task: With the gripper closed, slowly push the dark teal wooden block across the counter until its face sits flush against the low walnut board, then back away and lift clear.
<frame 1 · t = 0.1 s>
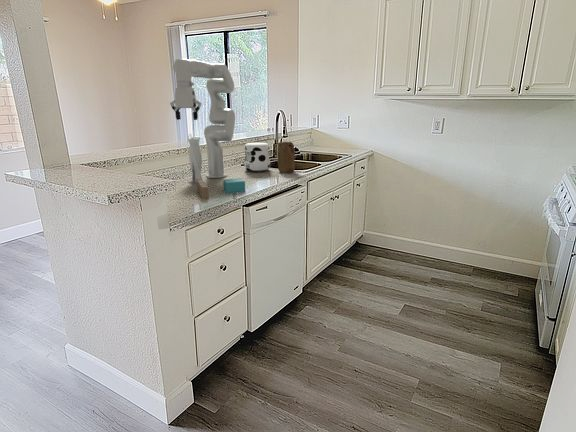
hand: (187, 119, 199), 37 cm above the worktop, tool pointing down, fingers open, 9 cm apart
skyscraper: (196, 182, 225), on the worktop
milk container: (257, 171, 258), on the worktop
block: (286, 172, 253), on the worktop
walnut board: (202, 193, 200), on the worktop
teal block: (234, 191, 206), on the worktop
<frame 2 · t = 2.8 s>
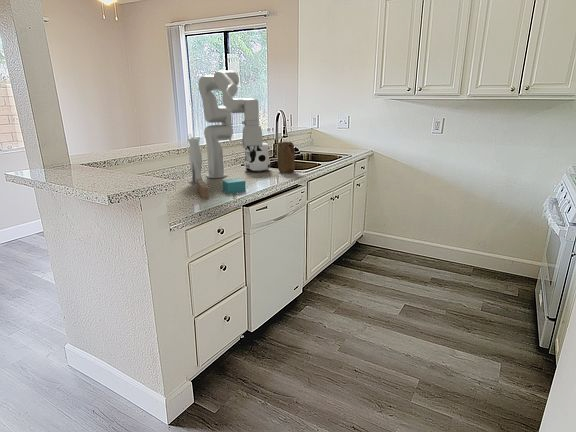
hand: (253, 158, 204), 17 cm above the worktop, tool pointing down, fingers closed
nothing on the worktop moved.
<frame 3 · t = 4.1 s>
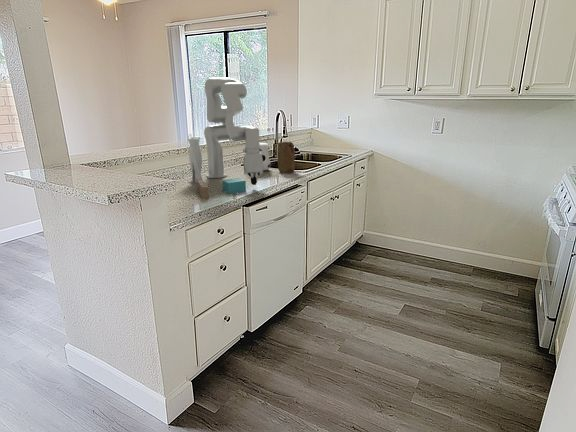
hand: (253, 184, 209), 3 cm above the worktop, tool pointing down, fingers closed
nothing on the worktop moved.
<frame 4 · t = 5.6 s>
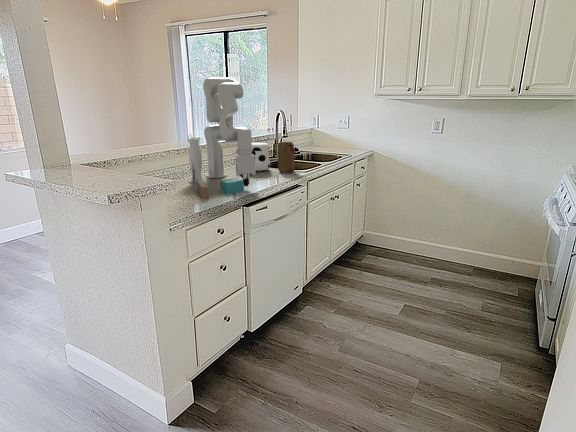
hand: (246, 185, 207), 2 cm above the worktop, tool pointing down, fingers closed
teal block: (232, 191, 206), on the worktop, touching gripper
everything else where it was.
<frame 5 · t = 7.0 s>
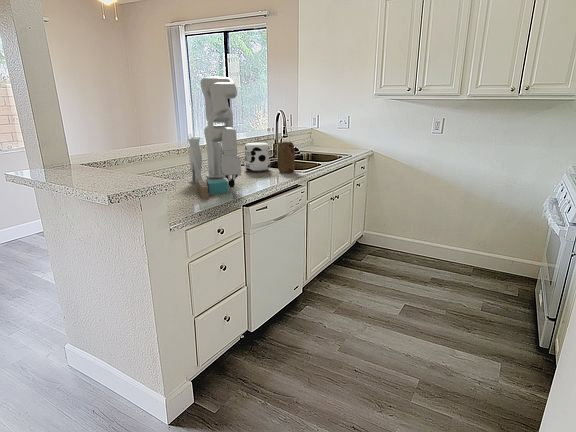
hand: (231, 187, 205), 2 cm above the worktop, tool pointing down, fingers closed
teal block: (217, 192, 204), on the worktop, touching gripper
everything else where it was.
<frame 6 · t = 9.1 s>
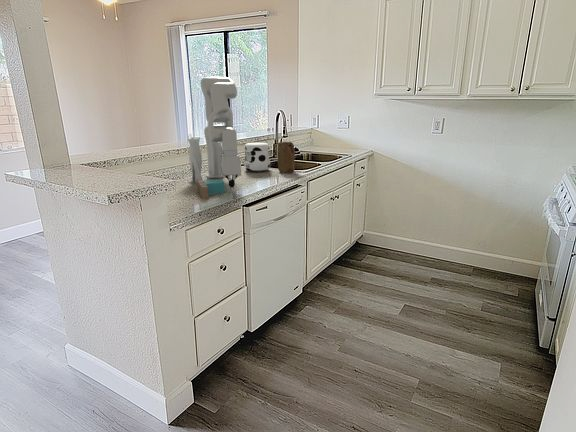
hand: (231, 187, 205), 2 cm above the worktop, tool pointing down, fingers closed
teal block: (214, 192, 204), on the worktop
everything else where it was.
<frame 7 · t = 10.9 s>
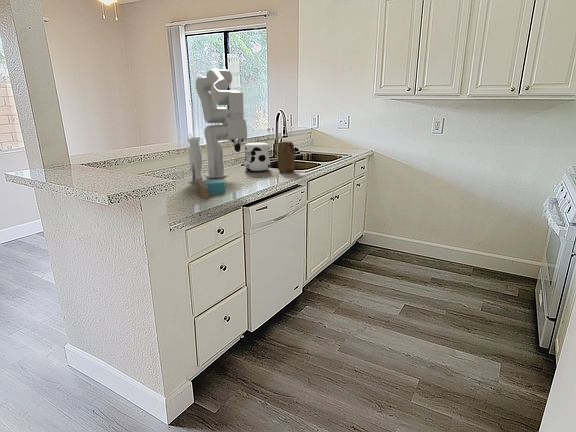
hand: (237, 151, 204), 21 cm above the worktop, tool pointing down, fingers closed
nothing on the worktop moved.
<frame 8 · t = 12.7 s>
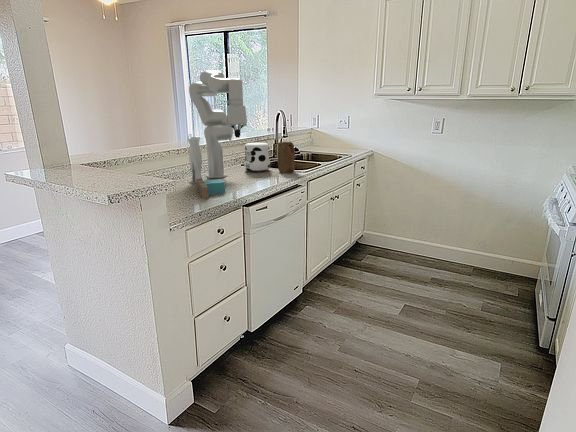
hand: (237, 137, 210), 27 cm above the worktop, tool pointing down, fingers closed
nothing on the worktop moved.
at the end: teal block inside the target area on the worktop beside the walnut board (1.6 cm from its centre), on the worktop; teal block tilted 0° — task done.
